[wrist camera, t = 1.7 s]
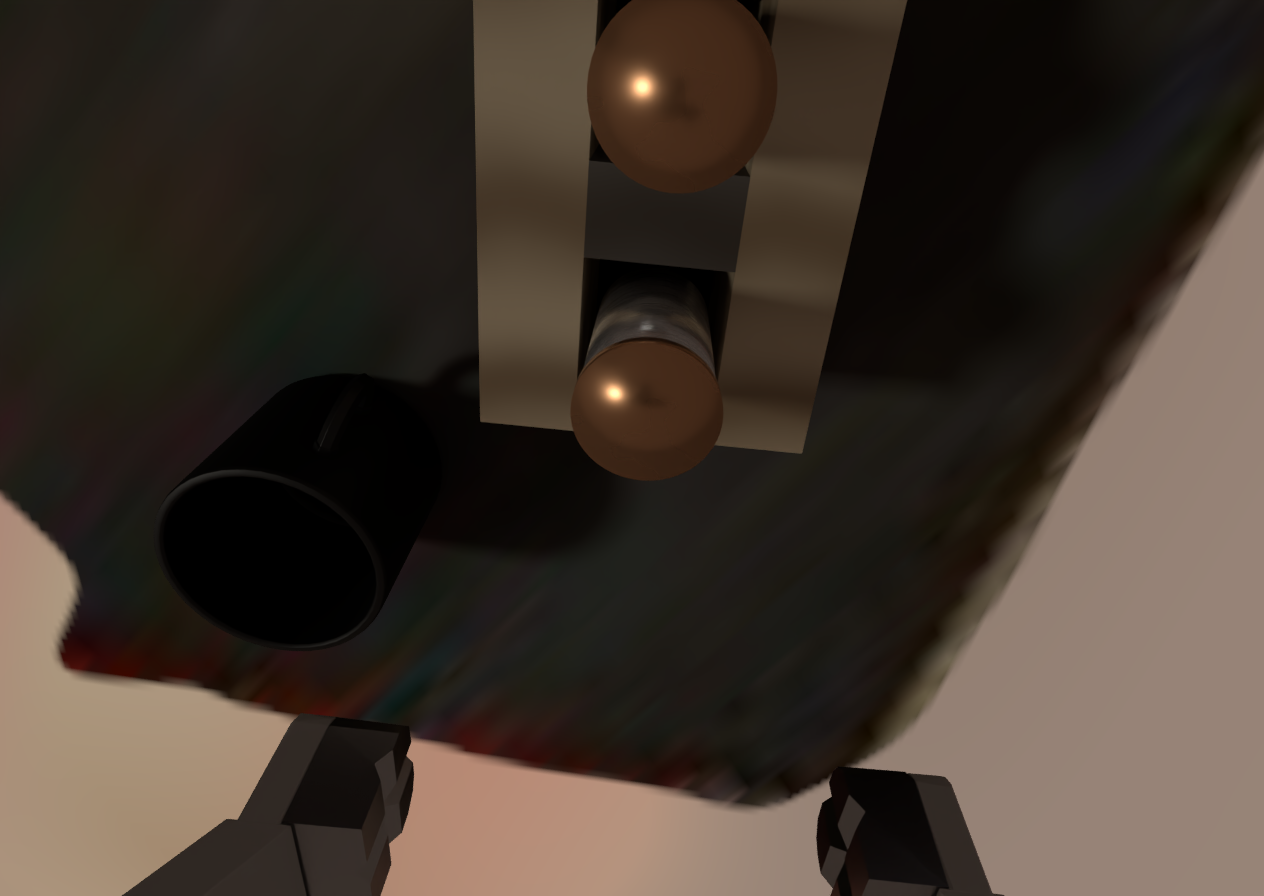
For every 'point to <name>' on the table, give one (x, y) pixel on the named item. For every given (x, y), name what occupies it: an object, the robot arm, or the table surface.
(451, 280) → the table surface
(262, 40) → the table surface
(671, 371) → the cylinder
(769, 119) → the copper domed cylinder
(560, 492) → the table surface
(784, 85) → the oak block
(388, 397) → the mug
